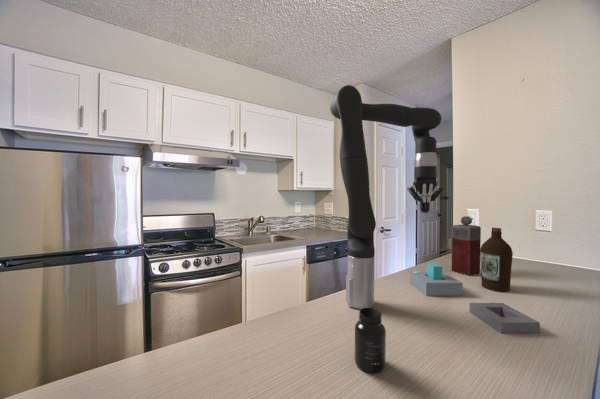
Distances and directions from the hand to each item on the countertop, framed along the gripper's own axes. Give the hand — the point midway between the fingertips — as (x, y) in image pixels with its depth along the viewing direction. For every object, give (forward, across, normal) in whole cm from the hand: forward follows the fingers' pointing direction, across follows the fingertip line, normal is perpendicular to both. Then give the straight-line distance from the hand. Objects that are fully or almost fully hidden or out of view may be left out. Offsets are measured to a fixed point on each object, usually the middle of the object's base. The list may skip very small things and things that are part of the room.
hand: (424, 212), depth 95 cm
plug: (+32, +9, +9) cm, 34 cm away
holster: (+32, +15, -18) cm, 40 cm away
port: (+32, +9, +9) cm, 34 cm away
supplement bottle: (+32, -31, -37) cm, 58 cm away
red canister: (+32, +38, +32) cm, 59 cm away
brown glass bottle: (+32, +35, +10) cm, 49 cm away
